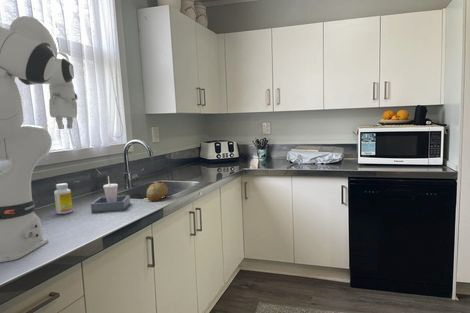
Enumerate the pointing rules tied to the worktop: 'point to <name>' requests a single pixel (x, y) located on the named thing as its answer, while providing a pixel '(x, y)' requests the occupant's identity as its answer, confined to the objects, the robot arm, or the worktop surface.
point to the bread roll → (157, 191)
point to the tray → (110, 204)
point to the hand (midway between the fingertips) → (65, 128)
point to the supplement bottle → (63, 199)
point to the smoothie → (111, 191)
